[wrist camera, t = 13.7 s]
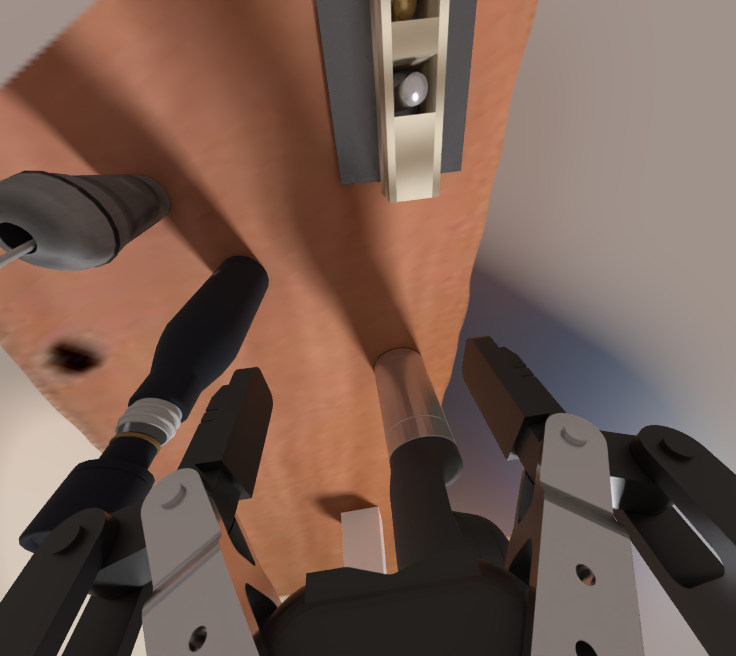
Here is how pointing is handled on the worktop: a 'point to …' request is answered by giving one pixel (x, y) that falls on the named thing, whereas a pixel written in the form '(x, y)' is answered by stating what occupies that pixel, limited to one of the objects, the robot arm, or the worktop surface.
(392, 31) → the bar
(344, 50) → the mounting plate
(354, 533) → the milk
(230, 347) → the wine bottle
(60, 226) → the grey tapered rounded cylinder
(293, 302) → the worktop surface
